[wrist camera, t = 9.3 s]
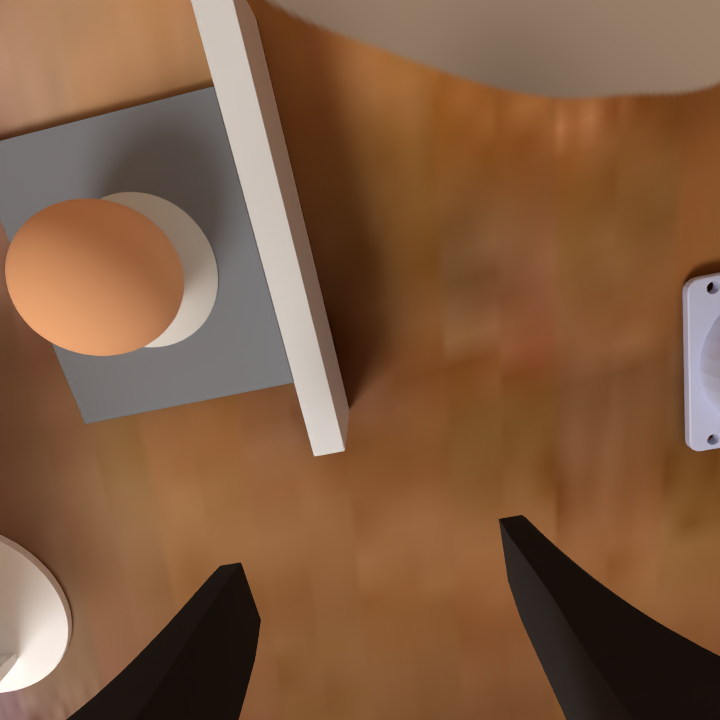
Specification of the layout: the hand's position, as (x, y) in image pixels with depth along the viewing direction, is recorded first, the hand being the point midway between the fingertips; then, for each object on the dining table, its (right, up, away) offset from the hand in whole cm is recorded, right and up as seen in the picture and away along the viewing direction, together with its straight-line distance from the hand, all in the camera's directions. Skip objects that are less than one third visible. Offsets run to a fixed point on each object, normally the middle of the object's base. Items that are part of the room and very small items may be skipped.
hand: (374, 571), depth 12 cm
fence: (-3, +11, +7) cm, 13 cm away
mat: (-10, +10, +7) cm, 15 cm away
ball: (-10, +9, +4) cm, 14 cm away
